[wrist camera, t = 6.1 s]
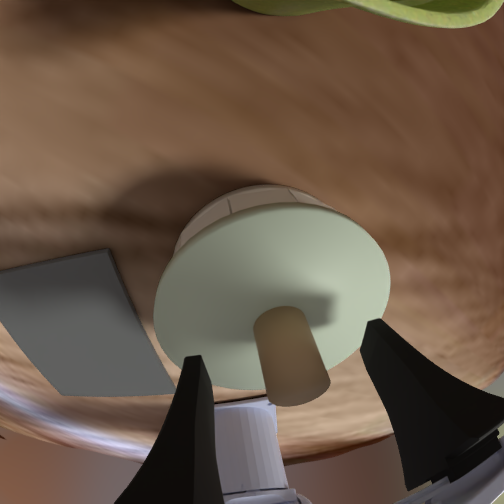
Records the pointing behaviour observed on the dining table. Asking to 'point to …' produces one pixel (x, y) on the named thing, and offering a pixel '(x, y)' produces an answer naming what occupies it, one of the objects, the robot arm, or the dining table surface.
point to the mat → (81, 327)
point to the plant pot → (390, 9)
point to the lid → (272, 298)
